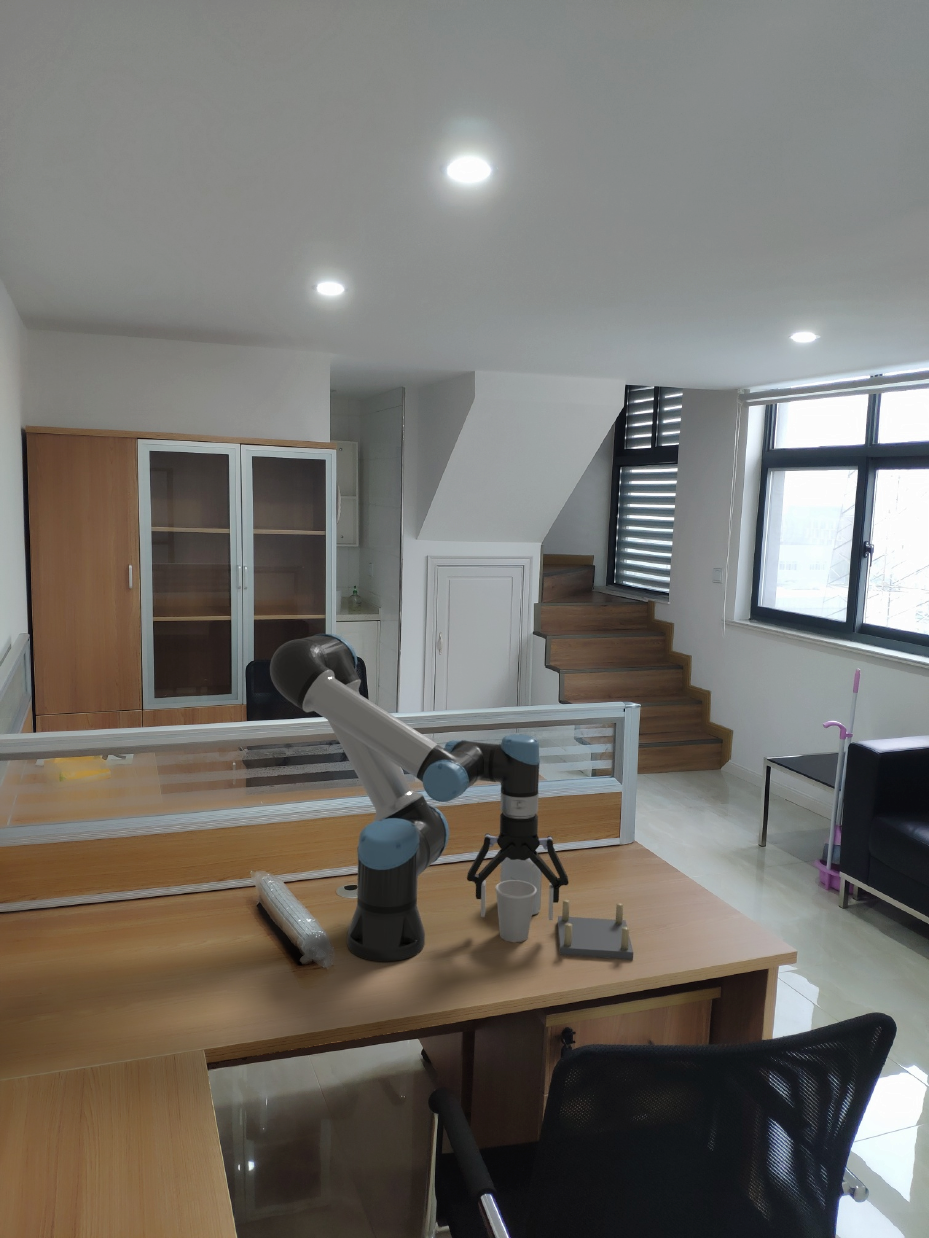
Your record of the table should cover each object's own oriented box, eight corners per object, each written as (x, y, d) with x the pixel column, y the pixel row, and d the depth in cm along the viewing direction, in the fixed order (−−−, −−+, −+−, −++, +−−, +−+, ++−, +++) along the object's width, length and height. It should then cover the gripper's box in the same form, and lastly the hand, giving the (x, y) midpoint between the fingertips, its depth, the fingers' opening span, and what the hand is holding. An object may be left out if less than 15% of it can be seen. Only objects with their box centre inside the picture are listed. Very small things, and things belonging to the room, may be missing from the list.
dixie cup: (536, 945, 174) (538, 897, 173) (493, 944, 174) (495, 895, 173) (533, 926, 182) (535, 880, 181) (492, 925, 182) (494, 878, 181)
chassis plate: (559, 954, 170) (561, 927, 170) (557, 922, 184) (558, 897, 184) (632, 959, 169) (634, 932, 169) (625, 927, 183) (626, 901, 183)
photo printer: (496, 900, 194) (498, 846, 193) (511, 896, 197) (513, 842, 196) (528, 917, 186) (531, 861, 185) (543, 912, 189) (545, 856, 188)
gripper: (455, 816, 172) (453, 920, 174) (583, 821, 171) (580, 926, 173) (458, 804, 180) (456, 904, 182) (580, 809, 178) (577, 910, 180)
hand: (516, 915), depth 177 cm, fingers open, 13 cm apart
